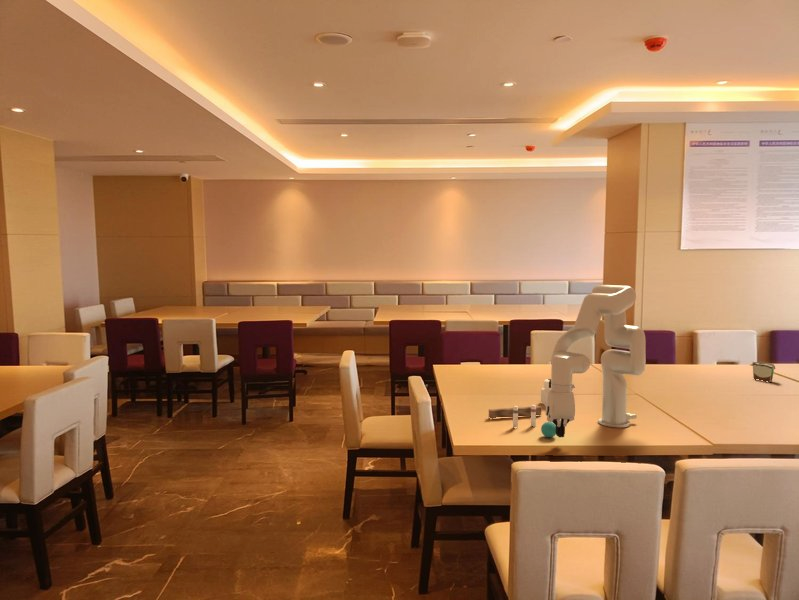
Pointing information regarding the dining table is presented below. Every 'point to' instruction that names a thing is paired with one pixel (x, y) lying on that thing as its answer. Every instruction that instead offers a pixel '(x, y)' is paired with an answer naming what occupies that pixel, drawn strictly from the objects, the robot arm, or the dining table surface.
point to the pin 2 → (533, 415)
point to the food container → (763, 371)
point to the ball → (548, 429)
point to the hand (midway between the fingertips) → (560, 436)
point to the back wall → (509, 412)
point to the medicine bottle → (545, 391)
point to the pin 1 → (515, 416)
